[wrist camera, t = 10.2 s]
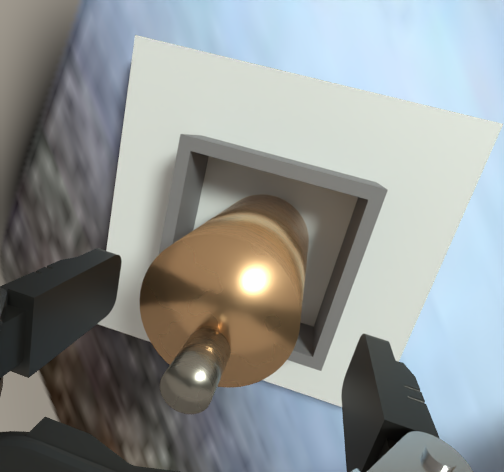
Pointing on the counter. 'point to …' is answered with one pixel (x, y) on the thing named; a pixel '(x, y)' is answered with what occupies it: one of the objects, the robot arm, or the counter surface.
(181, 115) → the white board with frame
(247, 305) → the spout can
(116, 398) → the counter surface
